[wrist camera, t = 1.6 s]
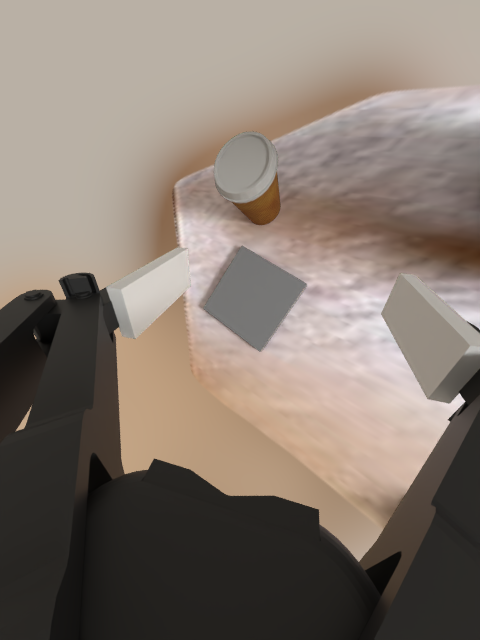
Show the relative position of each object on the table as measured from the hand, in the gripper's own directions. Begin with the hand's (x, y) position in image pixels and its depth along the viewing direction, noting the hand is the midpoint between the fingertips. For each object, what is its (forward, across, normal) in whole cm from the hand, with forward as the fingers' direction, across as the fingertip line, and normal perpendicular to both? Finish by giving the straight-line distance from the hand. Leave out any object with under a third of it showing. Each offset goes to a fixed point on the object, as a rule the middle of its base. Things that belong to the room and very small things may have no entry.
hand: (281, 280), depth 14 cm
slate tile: (+23, -5, -14) cm, 27 cm away
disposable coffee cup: (+32, -6, 0) cm, 33 cm away
